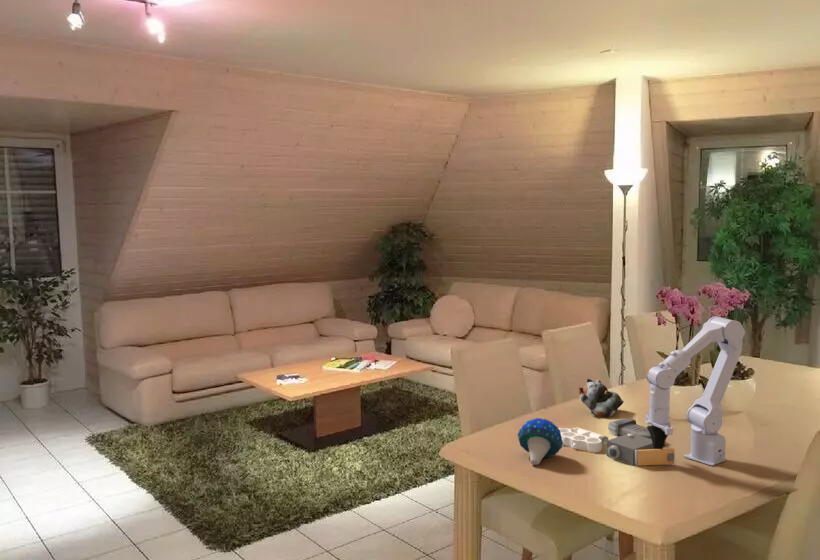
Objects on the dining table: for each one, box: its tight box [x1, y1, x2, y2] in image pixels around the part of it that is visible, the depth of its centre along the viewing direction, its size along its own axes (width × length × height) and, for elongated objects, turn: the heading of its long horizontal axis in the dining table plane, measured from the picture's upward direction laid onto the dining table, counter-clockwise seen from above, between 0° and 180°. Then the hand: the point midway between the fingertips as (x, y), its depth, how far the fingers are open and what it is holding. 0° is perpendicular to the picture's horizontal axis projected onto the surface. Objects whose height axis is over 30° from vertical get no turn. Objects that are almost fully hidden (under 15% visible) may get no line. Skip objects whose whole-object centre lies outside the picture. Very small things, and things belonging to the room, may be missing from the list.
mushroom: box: [517, 417, 564, 466], centre depth 214 cm, size 14×14×15 cm
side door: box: [634, 447, 675, 467], centre depth 208 cm, size 2×12×5 cm, turn 95°
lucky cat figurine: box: [578, 378, 624, 419], centre depth 261 cm, size 15×12×14 cm
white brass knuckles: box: [558, 426, 609, 453], centre depth 228 cm, size 3×18×15 cm
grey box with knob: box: [606, 433, 654, 467], centre depth 215 cm, size 10×13×6 cm
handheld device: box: [607, 418, 651, 439], centre depth 232 cm, size 10×20×5 cm, turn 33°
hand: (658, 450), depth 210 cm, fingers closed
